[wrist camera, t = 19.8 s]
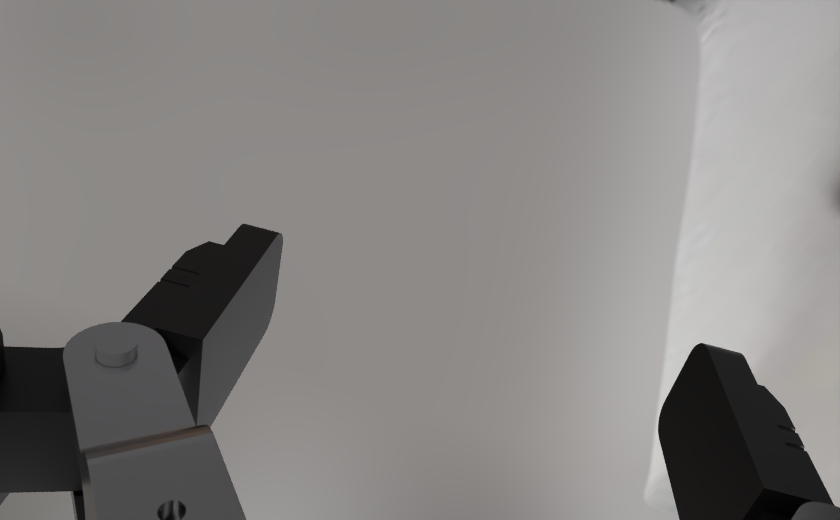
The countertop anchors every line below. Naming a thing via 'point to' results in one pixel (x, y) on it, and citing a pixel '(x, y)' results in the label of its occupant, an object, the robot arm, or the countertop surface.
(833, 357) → the countertop surface
